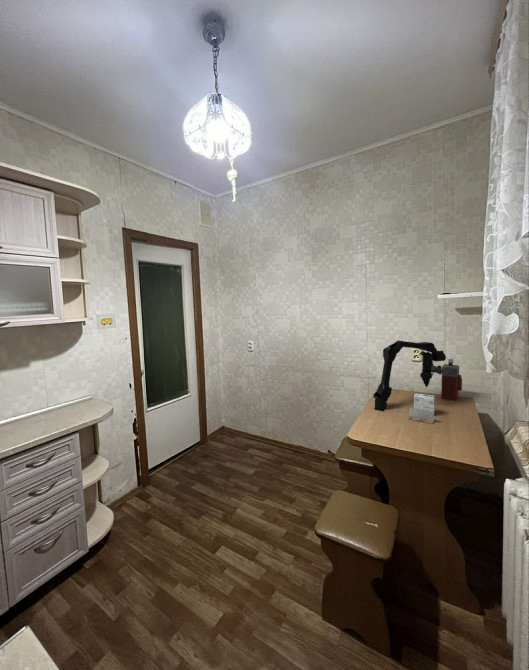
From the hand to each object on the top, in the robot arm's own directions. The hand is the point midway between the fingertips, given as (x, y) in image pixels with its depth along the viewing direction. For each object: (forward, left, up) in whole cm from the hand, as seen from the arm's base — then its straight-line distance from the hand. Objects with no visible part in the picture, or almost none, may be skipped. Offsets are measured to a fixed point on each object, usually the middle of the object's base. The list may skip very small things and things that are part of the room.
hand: (427, 385), depth 182 cm
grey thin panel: (0, -29, -13) cm, 32 cm away
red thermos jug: (+13, +22, -13) cm, 29 cm away
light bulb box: (0, -16, -13) cm, 21 cm away
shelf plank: (0, -31, -13) cm, 34 cm away
